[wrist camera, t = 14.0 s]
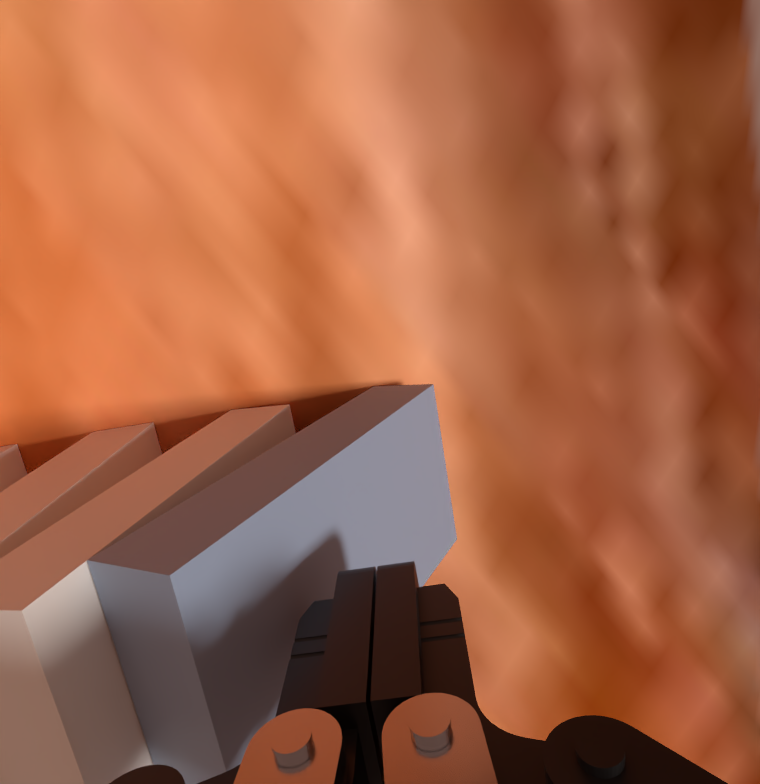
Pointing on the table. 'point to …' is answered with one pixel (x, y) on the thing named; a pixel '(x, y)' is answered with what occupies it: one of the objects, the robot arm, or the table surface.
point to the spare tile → (267, 569)
